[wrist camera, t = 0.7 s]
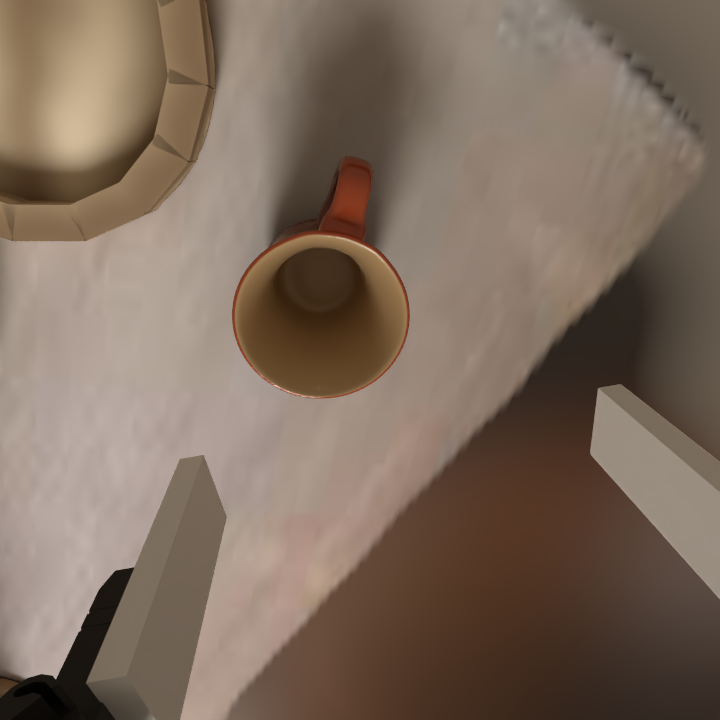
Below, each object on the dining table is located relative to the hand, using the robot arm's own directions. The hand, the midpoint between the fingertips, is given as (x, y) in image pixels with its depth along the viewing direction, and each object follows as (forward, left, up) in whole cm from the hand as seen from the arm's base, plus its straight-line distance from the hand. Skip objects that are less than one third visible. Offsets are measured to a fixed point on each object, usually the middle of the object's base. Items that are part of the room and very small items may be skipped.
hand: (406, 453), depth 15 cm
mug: (-2, +3, -19) cm, 20 cm away
